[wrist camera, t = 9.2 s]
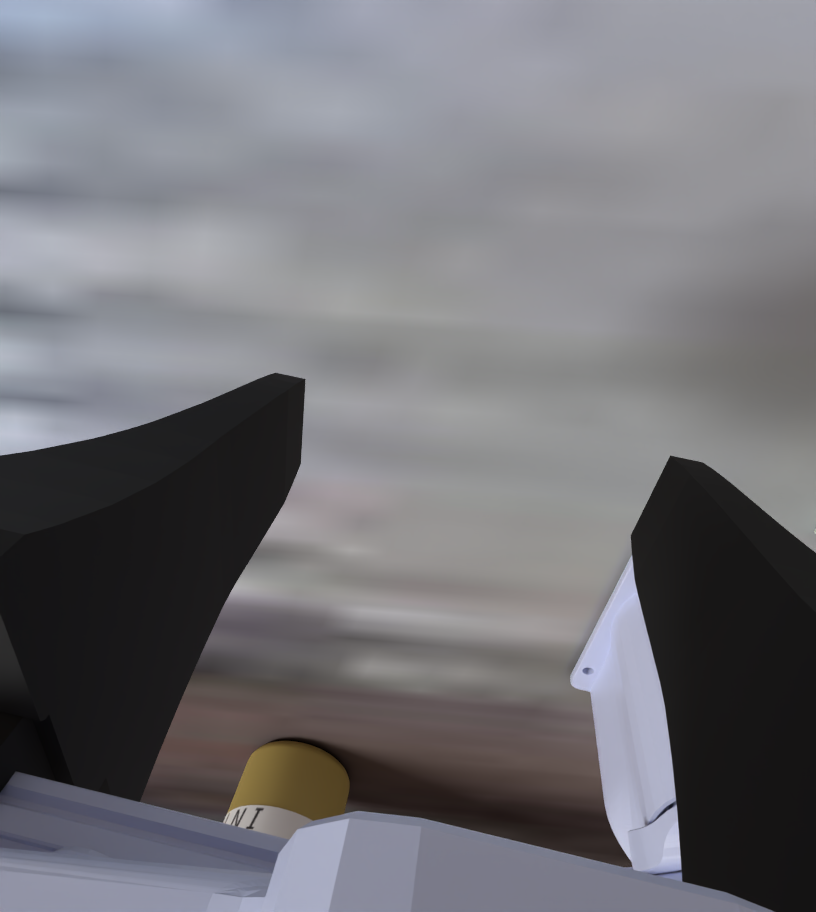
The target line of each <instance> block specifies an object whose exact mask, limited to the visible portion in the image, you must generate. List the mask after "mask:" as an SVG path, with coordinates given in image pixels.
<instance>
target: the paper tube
mask: <svg viewBox="0 0 816 912" xmlns="http://www.w3.org/2000/svg"><path fill="white" fill-rule="evenodd" d="M349 788H350V781H349V778H348V775H347V772H346V770H345V768H344V767H343V766H342V764H341V763H340V762H339V761H338V760H337V759H335V758H334V757H333V756H332V755H330V754H329V753H327V752H325V751H324V750H322V749H320V748H317V747H315V746H312V745H309V744H306V743H301V742H296V741H276V742H271V743H267V744H265V745H263V746H261V747H260V748H258V749H257V750H256V751H255V752H253V753H252V755H251V756H250V758H249V760H248V762H247V765H246V767H245V770H244V772H243V775H242V777H241V780H240V783H239V785H238V788H237V790H236V793H235V795H234V798H233V800H232V803H231V805H230V808H229V810H228V813H227V815H226V817H225V819H224V822H223V823H225V824H229V825H233V826H237V827H241V828H245V829H249V830H253V831H257V832H261V833H265V834H269V835H273V836H277V837H281V838H285V839H290V838H291V837H292V836H293V834H294V833H295V832H296V831H297V829H299V828H301V827H303V826H304V825H306V824H308V823H310V822H311V821H314V820H319V819H324V818H328V817H333V816H337V815H342V814H344V811H345V807H346V803H347V798H348V794H349Z"/></svg>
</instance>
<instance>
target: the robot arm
mask: <svg viewBox="0 0 816 912" xmlns="http://www.w3.org/2000/svg"><path fill="white" fill-rule="evenodd" d="M304 394H305V379H302V378H297V377H293V376H288V375H283V374H278V373H274V374H270V375H267V376H265V377H262V378H260V379H257V380H255V381H253V382H250V383H248V384H246V385H243V386H241V387H239V388H237V389H234V390H232V391H230V392H227V393H225V394H223V395H220V396H218V397H216V398H213V399H211V400H209V401H206V402H204V403H202V404H199V405H196V406H194V407H191V408H188V409H186V410H183V411H180V412H178V413H175V414H172V415H170V416H167V417H164V418H162V419H159V420H156V421H153V422H150V423H147V424H144V425H141V426H138V427H134V428H131V429H128V430H124V431H120V432H117V433H113V434H109V435H106V436H102V437H98V438H94V439H89V440H84V441H79V442H74V443H69V444H64V445H60V446H55V447H50V448H45V449H40V450H35V451H29V452H22V453H15V454H8V455H2V456H0V912H816V553H815V552H814V551H812V550H811V549H810V548H809V547H807V546H806V545H805V544H804V543H802V542H801V541H800V540H799V539H797V538H796V537H795V536H794V535H792V534H791V533H790V532H789V531H787V530H786V529H785V528H784V527H783V526H781V525H780V524H779V523H778V522H777V521H775V520H774V519H773V518H772V517H771V516H769V515H768V514H767V513H766V512H765V511H763V510H762V509H761V508H760V507H759V506H757V505H756V504H755V503H754V502H753V501H752V500H750V499H749V498H748V497H747V496H746V495H744V494H743V493H742V492H741V491H740V490H738V489H737V488H736V487H735V486H734V485H732V484H731V483H730V482H729V481H727V480H726V479H725V478H724V477H722V476H721V475H720V474H719V473H717V472H716V471H714V470H713V469H712V468H710V467H709V466H707V465H706V464H704V463H702V462H698V461H693V460H688V459H683V458H679V457H674V456H670V457H669V459H668V462H667V464H666V466H665V468H664V470H663V472H662V474H661V476H660V478H659V480H658V482H657V484H656V486H655V488H654V490H653V492H652V494H651V496H650V498H649V500H648V502H647V504H646V506H645V508H644V510H643V512H642V514H641V516H640V518H639V520H638V522H637V524H636V526H635V528H634V530H633V532H632V534H631V545H632V556H631V558H630V559H629V561H628V563H627V565H626V567H625V569H624V571H623V573H622V575H621V577H620V579H619V581H618V583H617V585H616V587H615V589H614V591H613V593H612V595H611V597H610V599H609V601H608V603H607V605H606V607H605V609H604V611H603V613H602V615H601V616H600V618H599V620H598V622H597V624H596V626H595V628H594V630H593V632H592V634H591V636H590V638H589V640H588V642H587V644H586V646H585V648H584V650H583V652H582V654H581V656H580V658H579V660H578V662H577V664H576V666H575V668H574V670H573V672H572V673H571V676H570V680H571V685H572V686H573V687H575V688H577V689H580V690H585V691H589V692H590V693H591V700H592V708H593V716H594V724H595V732H596V740H597V748H598V756H599V764H600V772H601V780H602V788H603V796H604V803H605V808H606V813H607V817H608V820H609V823H610V826H611V828H612V830H613V833H614V835H615V837H616V839H617V840H618V842H619V844H620V845H621V847H622V849H623V850H624V852H625V853H626V855H627V856H628V858H629V859H630V860H631V862H632V867H627V868H624V867H620V866H616V865H612V864H608V863H604V862H599V861H595V860H591V859H587V858H583V857H579V856H575V855H571V854H567V853H563V852H559V851H554V850H550V849H546V848H542V847H538V846H534V845H530V844H526V843H522V842H518V841H513V840H509V839H505V838H501V837H497V836H493V835H489V834H485V833H481V832H477V831H473V830H468V829H464V828H460V827H456V826H452V825H448V824H444V823H440V822H436V821H432V820H427V819H423V818H417V817H408V816H399V815H390V814H381V813H372V812H364V811H356V812H351V813H346V814H342V815H337V816H333V817H328V818H324V819H319V820H314V821H311V822H310V823H308V824H306V825H304V826H303V827H301V828H299V829H297V831H296V832H295V833H294V834H293V836H292V837H291V838H290V839H285V838H281V837H277V836H273V835H269V834H265V833H261V832H257V831H253V830H249V829H245V828H241V827H237V826H233V825H229V824H225V823H221V822H217V821H213V820H209V819H205V818H201V817H197V816H193V815H189V814H185V813H181V812H177V811H173V810H169V809H165V808H161V807H157V806H153V805H149V804H145V803H141V802H140V800H141V797H142V795H143V792H144V789H145V787H146V784H147V782H148V779H149V777H150V774H151V771H152V769H153V766H154V764H155V761H156V759H157V756H158V754H159V751H160V749H161V746H162V744H163V742H164V739H165V737H166V734H167V732H168V729H169V727H170V725H171V722H172V720H173V717H174V715H175V713H176V710H177V708H178V705H179V703H180V701H181V698H182V696H183V694H184V691H185V689H186V687H187V684H188V682H189V680H190V678H191V675H192V673H193V671H194V669H195V666H196V664H197V662H198V659H199V657H200V655H201V653H202V650H203V648H204V646H205V644H206V642H207V640H208V637H209V635H210V633H211V631H212V629H213V627H214V625H215V622H216V620H217V618H218V616H219V614H220V612H221V609H222V607H223V605H224V603H225V601H226V600H227V598H228V596H229V594H230V592H231V590H232V589H233V587H234V585H235V583H236V582H237V580H238V578H239V577H240V575H241V574H242V572H243V570H244V569H245V567H246V565H247V564H248V562H249V560H250V559H251V557H252V556H253V554H254V552H255V551H256V549H257V547H258V546H259V544H260V542H261V541H262V539H263V538H264V536H265V534H266V533H267V531H268V529H269V528H270V526H271V524H272V523H273V521H274V519H275V518H276V516H277V514H278V513H279V511H280V509H281V507H282V506H283V504H284V502H285V500H286V498H287V495H288V493H289V491H290V489H291V486H292V484H293V481H294V479H295V476H296V474H297V472H298V469H299V467H300V464H301V448H302V430H303V412H304ZM587 667H588V668H587Z"/></svg>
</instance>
